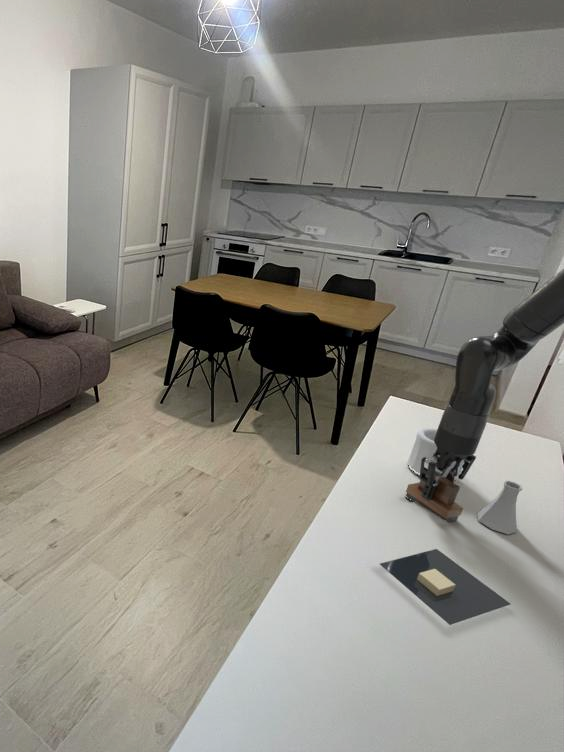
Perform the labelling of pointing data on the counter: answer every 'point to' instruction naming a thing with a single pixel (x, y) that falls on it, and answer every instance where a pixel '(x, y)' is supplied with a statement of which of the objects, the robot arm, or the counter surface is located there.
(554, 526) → the counter surface
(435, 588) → the felt pad
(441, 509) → the brush
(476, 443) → the robot arm
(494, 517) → the flask
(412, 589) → the slate tile
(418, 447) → the mug
